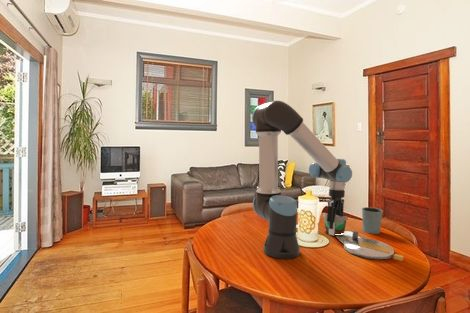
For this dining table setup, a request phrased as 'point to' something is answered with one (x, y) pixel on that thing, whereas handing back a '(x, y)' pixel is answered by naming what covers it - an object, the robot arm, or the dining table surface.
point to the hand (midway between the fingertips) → (334, 233)
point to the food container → (336, 224)
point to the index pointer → (398, 257)
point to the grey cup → (371, 220)
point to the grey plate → (368, 248)
